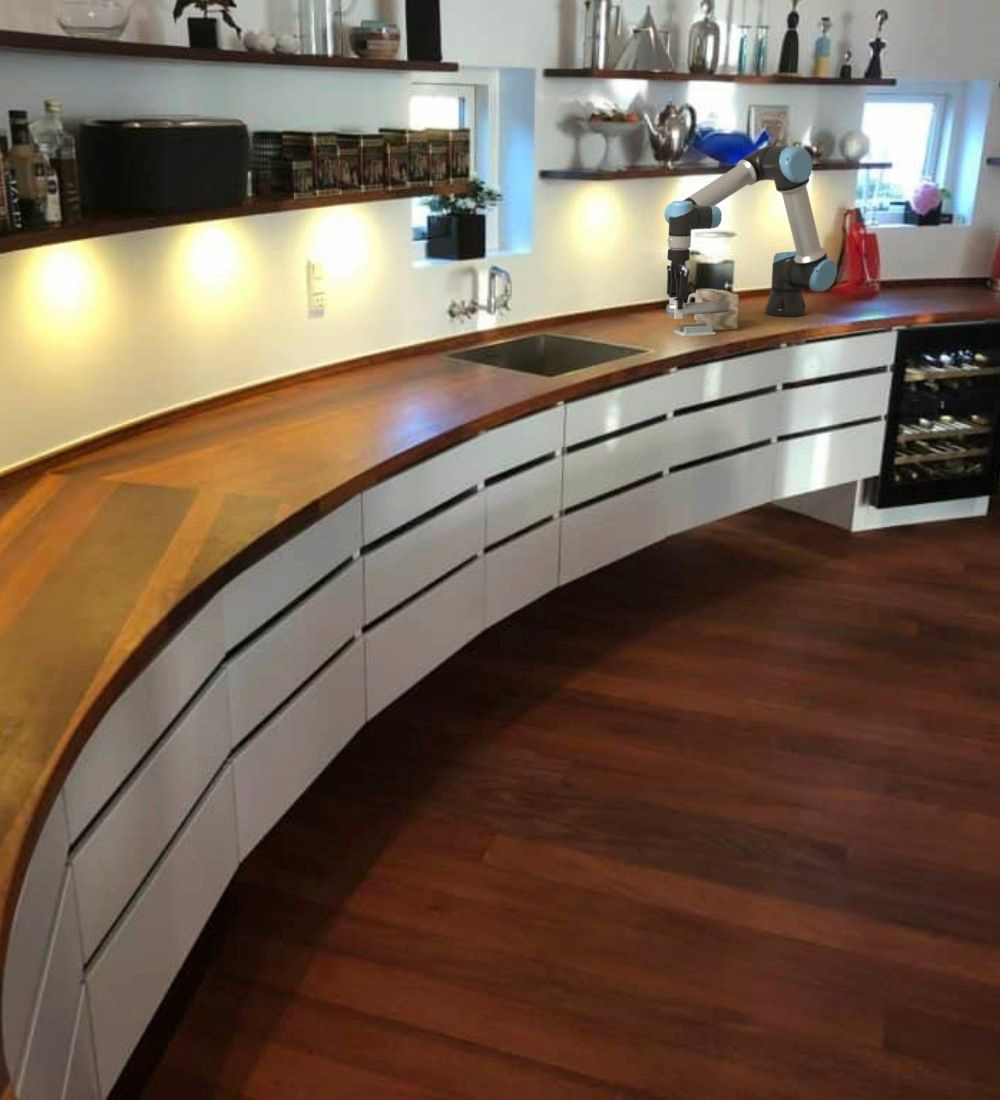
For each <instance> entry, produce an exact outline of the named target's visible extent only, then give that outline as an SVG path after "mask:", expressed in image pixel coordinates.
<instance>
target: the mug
mask: <svg viewBox="0 0 1000 1100" xmlns="http://www.w3.org/2000/svg"><path fill="white" fill-rule="evenodd" d="M713 290H717V289H716V288H715V289H714V288H697V289H696V290H695V292H692V293H690V294H688V296H687V297H688V298H687V302H686V303H692V302H691V301H692V298H694V303H697V302H698V291H713ZM693 320H694V322H697V314H693Z"/></svg>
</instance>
